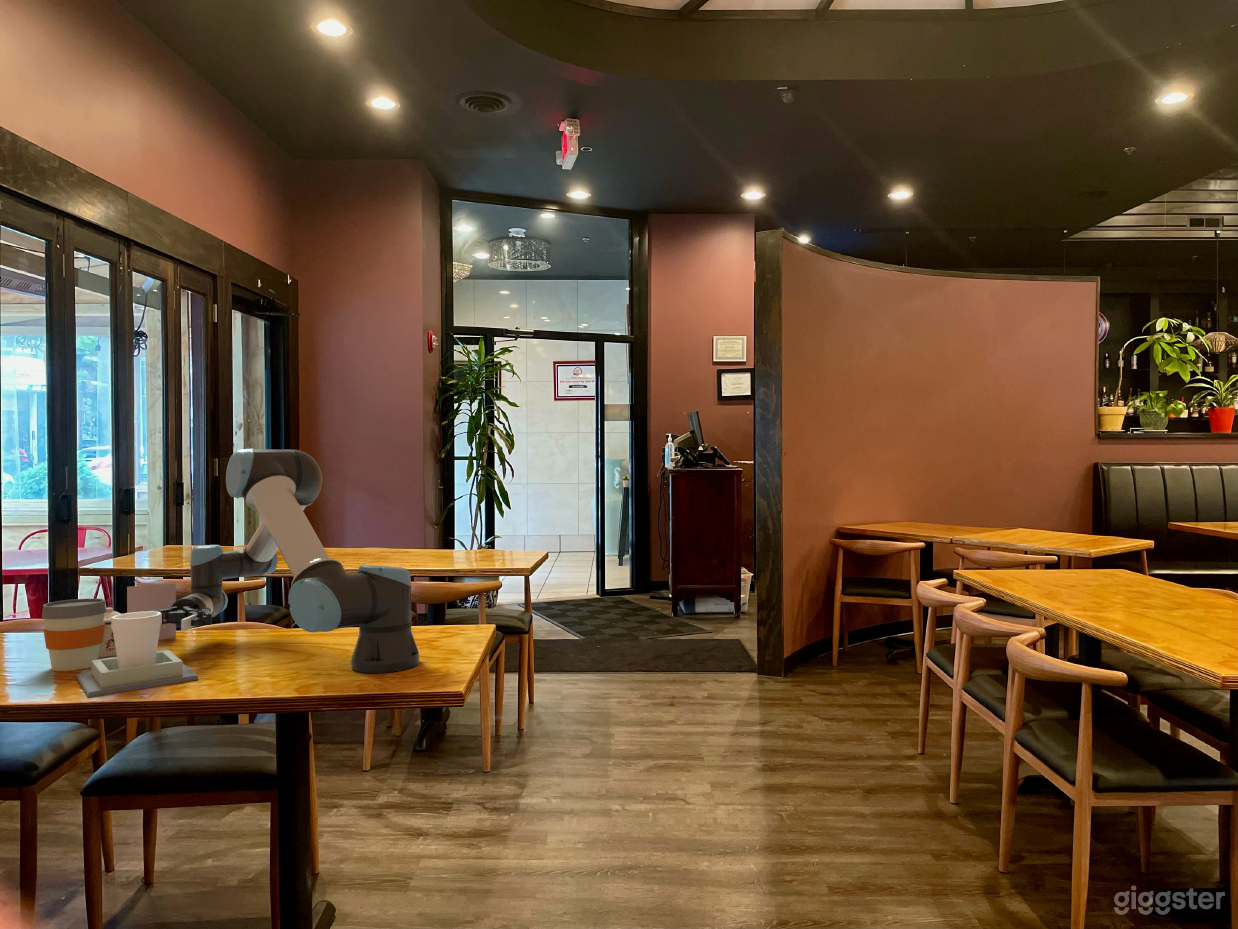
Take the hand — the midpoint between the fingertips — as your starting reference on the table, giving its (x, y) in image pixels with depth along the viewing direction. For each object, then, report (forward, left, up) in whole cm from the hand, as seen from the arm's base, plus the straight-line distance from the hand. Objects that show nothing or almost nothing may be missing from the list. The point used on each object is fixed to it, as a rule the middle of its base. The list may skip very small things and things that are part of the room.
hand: (151, 626), depth 181 cm
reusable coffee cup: (+18, +13, -10) cm, 24 cm away
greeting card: (+40, -6, -10) cm, 42 cm away
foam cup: (-6, +4, -9) cm, 12 cm away
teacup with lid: (+28, +4, -10) cm, 30 cm away
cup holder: (-6, +4, -10) cm, 12 cm away
